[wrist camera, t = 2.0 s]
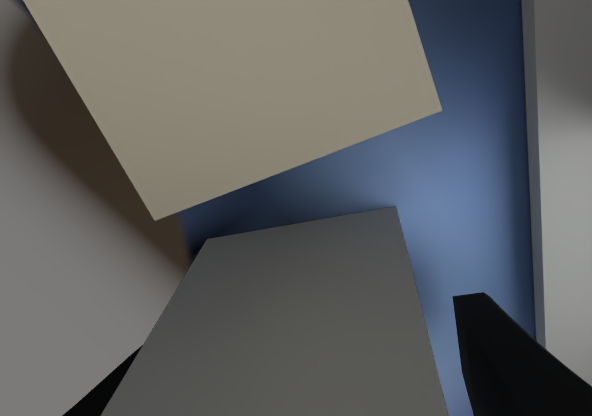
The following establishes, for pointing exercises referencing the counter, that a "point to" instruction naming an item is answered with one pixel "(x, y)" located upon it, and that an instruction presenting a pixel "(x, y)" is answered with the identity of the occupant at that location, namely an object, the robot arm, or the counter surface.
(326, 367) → the block
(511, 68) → the counter surface
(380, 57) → the block
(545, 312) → the din rail
